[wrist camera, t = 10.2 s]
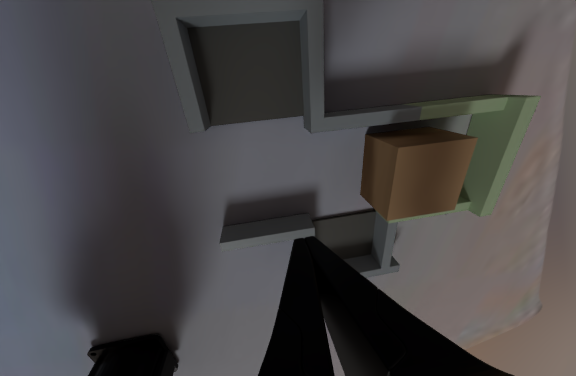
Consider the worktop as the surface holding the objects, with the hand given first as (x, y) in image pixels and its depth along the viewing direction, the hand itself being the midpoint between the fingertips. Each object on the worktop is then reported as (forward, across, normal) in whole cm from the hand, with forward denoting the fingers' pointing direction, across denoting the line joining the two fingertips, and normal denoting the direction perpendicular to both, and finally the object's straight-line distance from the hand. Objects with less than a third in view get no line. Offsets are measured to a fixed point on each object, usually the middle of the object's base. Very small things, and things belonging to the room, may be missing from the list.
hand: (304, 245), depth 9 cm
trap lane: (+8, -5, 0) cm, 9 cm away
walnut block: (+8, -9, 0) cm, 12 cm away
